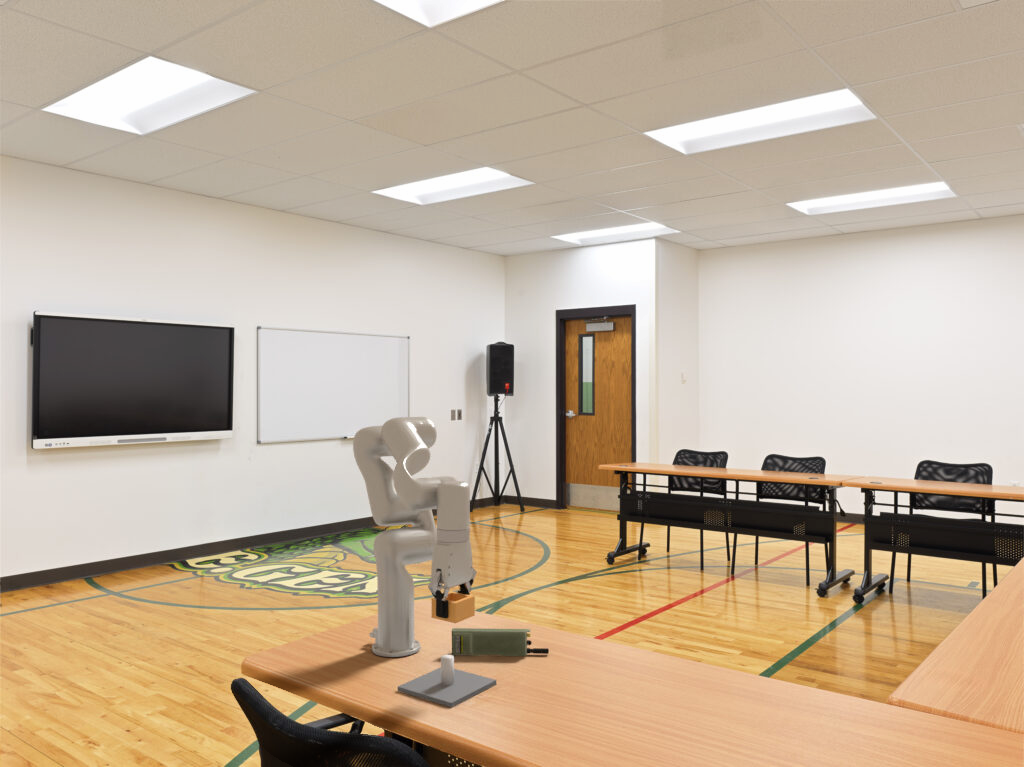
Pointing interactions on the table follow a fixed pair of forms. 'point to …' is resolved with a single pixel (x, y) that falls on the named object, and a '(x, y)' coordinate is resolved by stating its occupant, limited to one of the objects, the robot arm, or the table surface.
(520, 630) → the handheld radio
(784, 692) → the table surface
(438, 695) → the plate
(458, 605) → the orange open box
